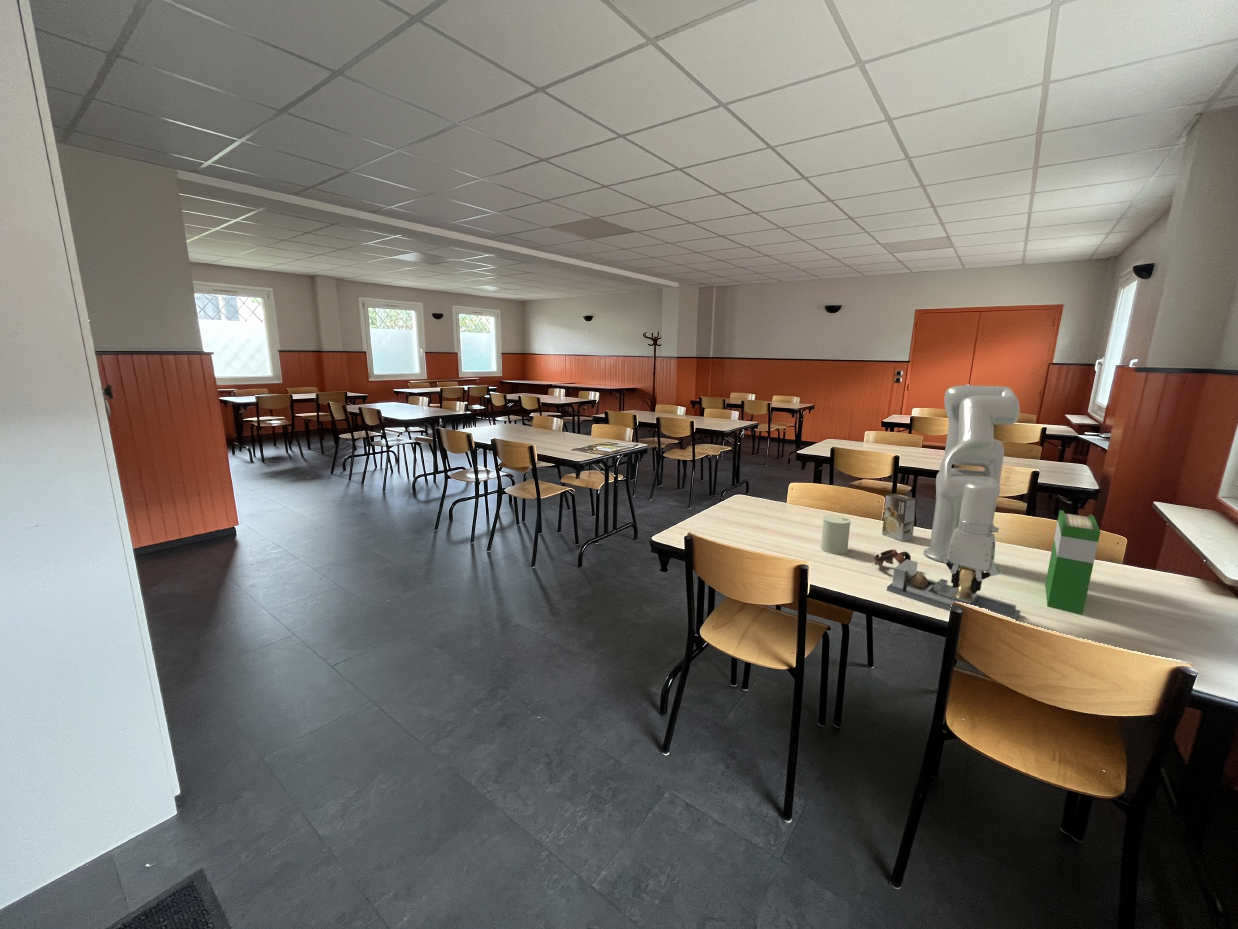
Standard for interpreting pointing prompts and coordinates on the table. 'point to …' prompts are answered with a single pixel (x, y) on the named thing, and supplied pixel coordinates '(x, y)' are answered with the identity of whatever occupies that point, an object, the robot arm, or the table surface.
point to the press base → (926, 595)
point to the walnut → (919, 581)
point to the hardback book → (1071, 562)
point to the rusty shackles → (891, 557)
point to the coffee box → (899, 517)
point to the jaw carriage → (959, 587)
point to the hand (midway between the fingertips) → (965, 588)
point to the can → (835, 534)
